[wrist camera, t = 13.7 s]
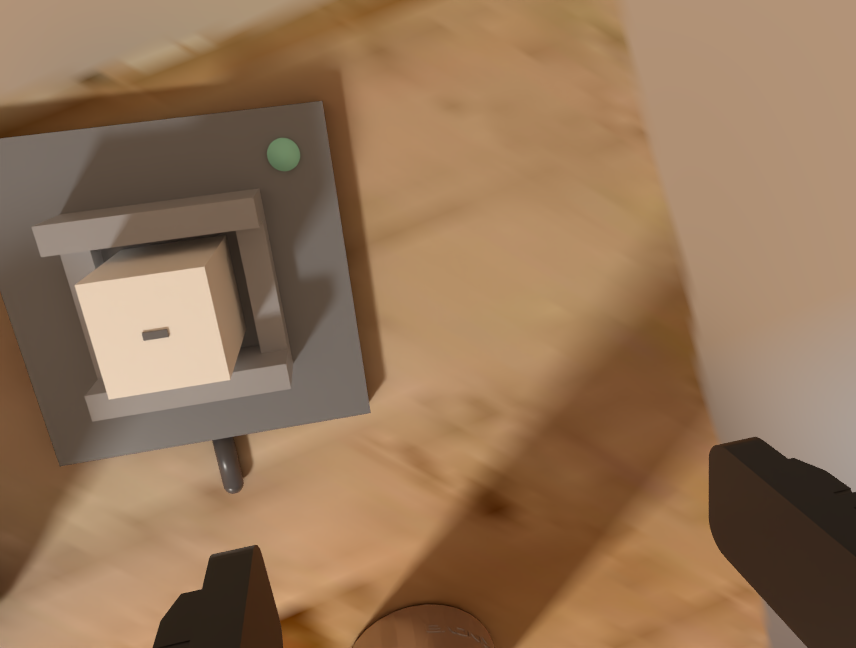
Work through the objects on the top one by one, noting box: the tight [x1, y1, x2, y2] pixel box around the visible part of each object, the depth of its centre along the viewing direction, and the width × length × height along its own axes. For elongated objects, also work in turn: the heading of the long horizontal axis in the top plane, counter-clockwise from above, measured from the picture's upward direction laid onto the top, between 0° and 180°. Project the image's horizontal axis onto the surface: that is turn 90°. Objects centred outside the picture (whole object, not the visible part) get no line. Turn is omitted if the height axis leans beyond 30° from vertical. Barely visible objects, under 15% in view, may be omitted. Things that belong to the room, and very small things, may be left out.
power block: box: [0, 101, 371, 494], centre depth 30 cm, size 18×15×4 cm
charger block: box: [75, 235, 246, 400], centre depth 27 cm, size 4×4×6 cm
